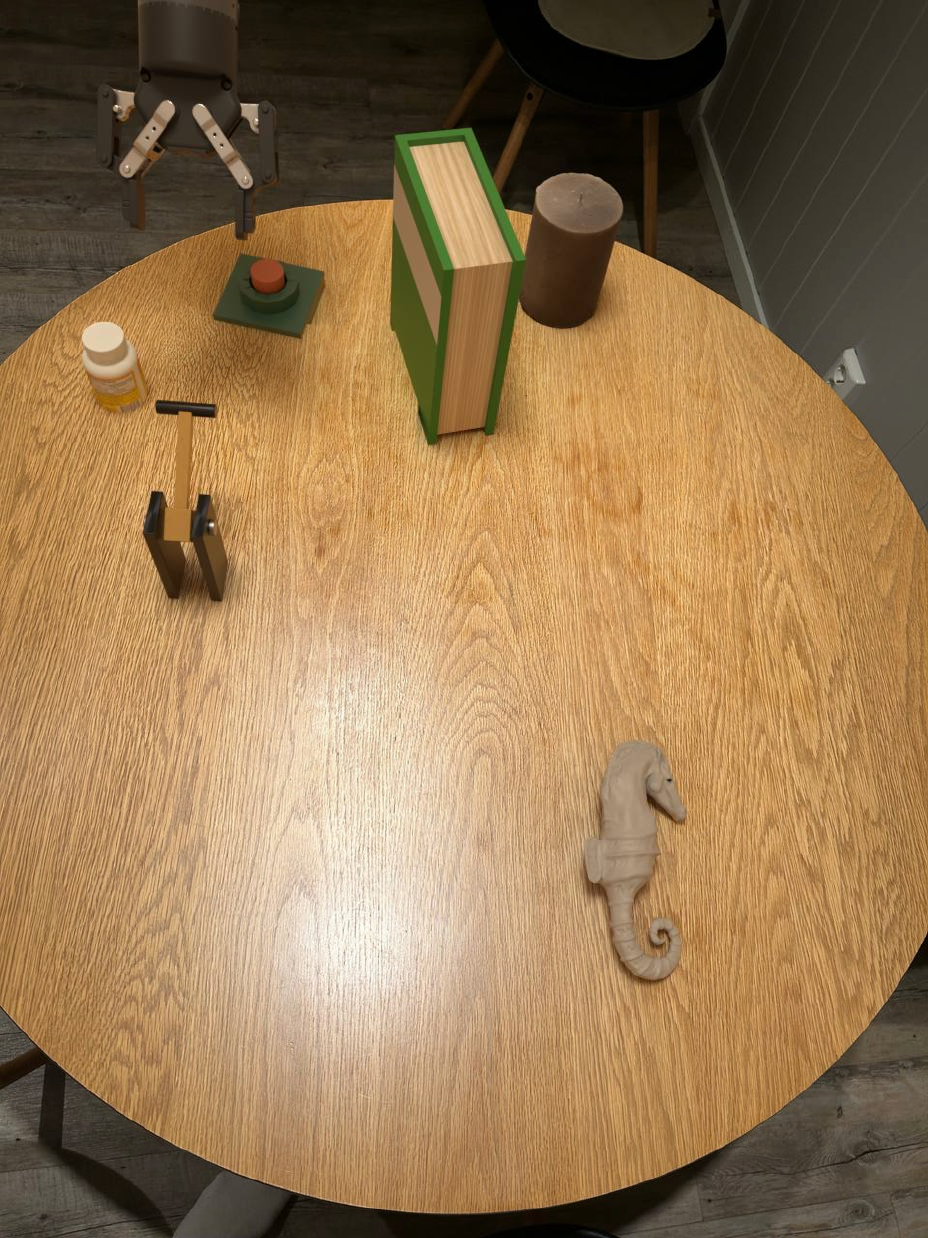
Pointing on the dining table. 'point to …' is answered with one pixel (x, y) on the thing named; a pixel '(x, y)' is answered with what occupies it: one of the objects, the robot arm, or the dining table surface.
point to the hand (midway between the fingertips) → (190, 234)
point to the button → (267, 276)
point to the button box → (271, 299)
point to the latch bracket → (171, 553)
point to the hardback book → (452, 279)
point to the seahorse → (633, 848)
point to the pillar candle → (569, 248)
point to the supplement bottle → (113, 368)
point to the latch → (183, 466)
